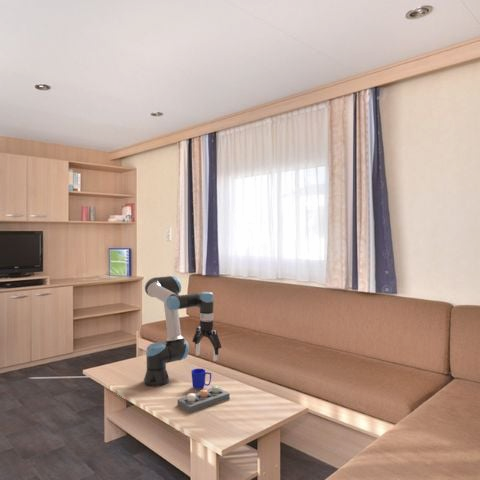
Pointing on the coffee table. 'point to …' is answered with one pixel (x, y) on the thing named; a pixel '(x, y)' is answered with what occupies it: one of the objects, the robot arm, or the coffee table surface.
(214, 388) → the button sage
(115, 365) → the coffee table surface
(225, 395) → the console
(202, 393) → the button terracotta
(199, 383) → the mug
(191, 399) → the button ivory
